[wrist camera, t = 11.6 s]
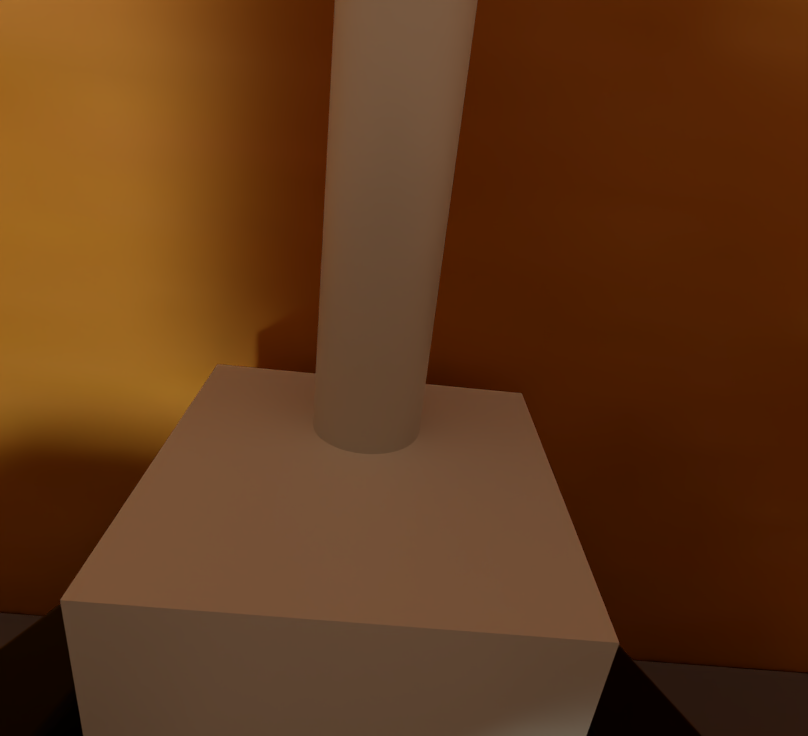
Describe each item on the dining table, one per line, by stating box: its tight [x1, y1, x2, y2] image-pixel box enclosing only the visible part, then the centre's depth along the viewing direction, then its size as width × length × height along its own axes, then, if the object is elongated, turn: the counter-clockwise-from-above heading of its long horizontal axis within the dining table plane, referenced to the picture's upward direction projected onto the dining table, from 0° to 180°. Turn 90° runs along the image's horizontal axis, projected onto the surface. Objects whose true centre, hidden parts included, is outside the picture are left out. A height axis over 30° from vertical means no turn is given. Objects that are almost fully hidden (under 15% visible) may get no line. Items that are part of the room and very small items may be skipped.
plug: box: [60, 0, 619, 736], centre depth 6 cm, size 11×4×4 cm, turn 174°
